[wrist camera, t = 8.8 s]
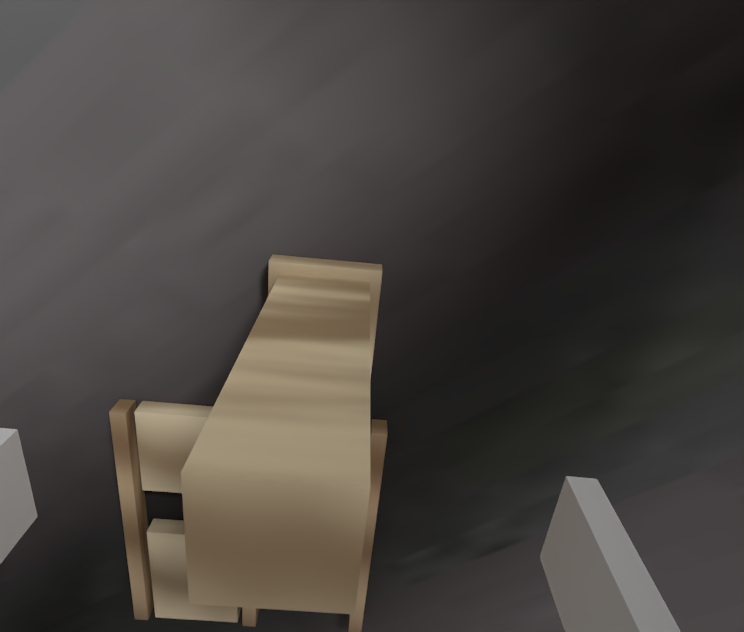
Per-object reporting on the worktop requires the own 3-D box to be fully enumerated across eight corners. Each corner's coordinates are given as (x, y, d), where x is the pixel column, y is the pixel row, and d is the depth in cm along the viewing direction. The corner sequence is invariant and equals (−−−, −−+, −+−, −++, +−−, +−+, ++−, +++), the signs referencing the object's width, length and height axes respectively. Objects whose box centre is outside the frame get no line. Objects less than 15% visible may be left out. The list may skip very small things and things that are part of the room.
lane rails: (119, 399, 26) (108, 412, 25) (386, 420, 27) (387, 433, 26) (142, 601, 32) (134, 619, 31) (361, 615, 33) (361, 633, 32)
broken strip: (142, 400, 27) (134, 411, 26) (240, 408, 27) (235, 419, 26) (161, 602, 32) (155, 617, 32) (241, 607, 33) (237, 622, 32)
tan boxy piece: (272, 254, 23) (155, 451, 11) (381, 264, 24) (396, 469, 11) (267, 506, 29) (187, 829, 17) (354, 513, 30) (343, 836, 17)
